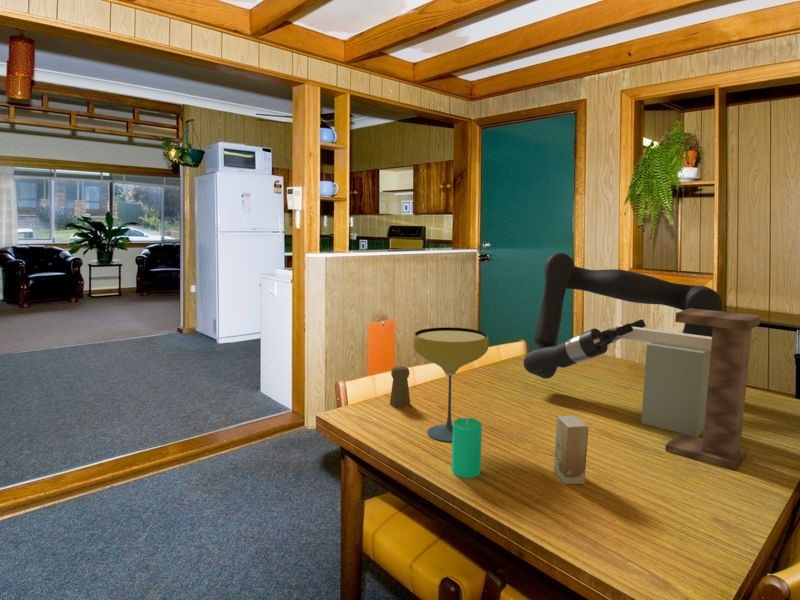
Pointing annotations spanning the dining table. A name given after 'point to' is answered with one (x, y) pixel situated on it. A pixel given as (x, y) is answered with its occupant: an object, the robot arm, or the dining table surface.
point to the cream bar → (669, 338)
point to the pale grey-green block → (675, 388)
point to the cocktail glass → (449, 359)
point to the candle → (466, 447)
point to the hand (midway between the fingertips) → (637, 324)
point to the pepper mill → (400, 387)
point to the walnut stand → (721, 389)
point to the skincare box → (571, 449)
